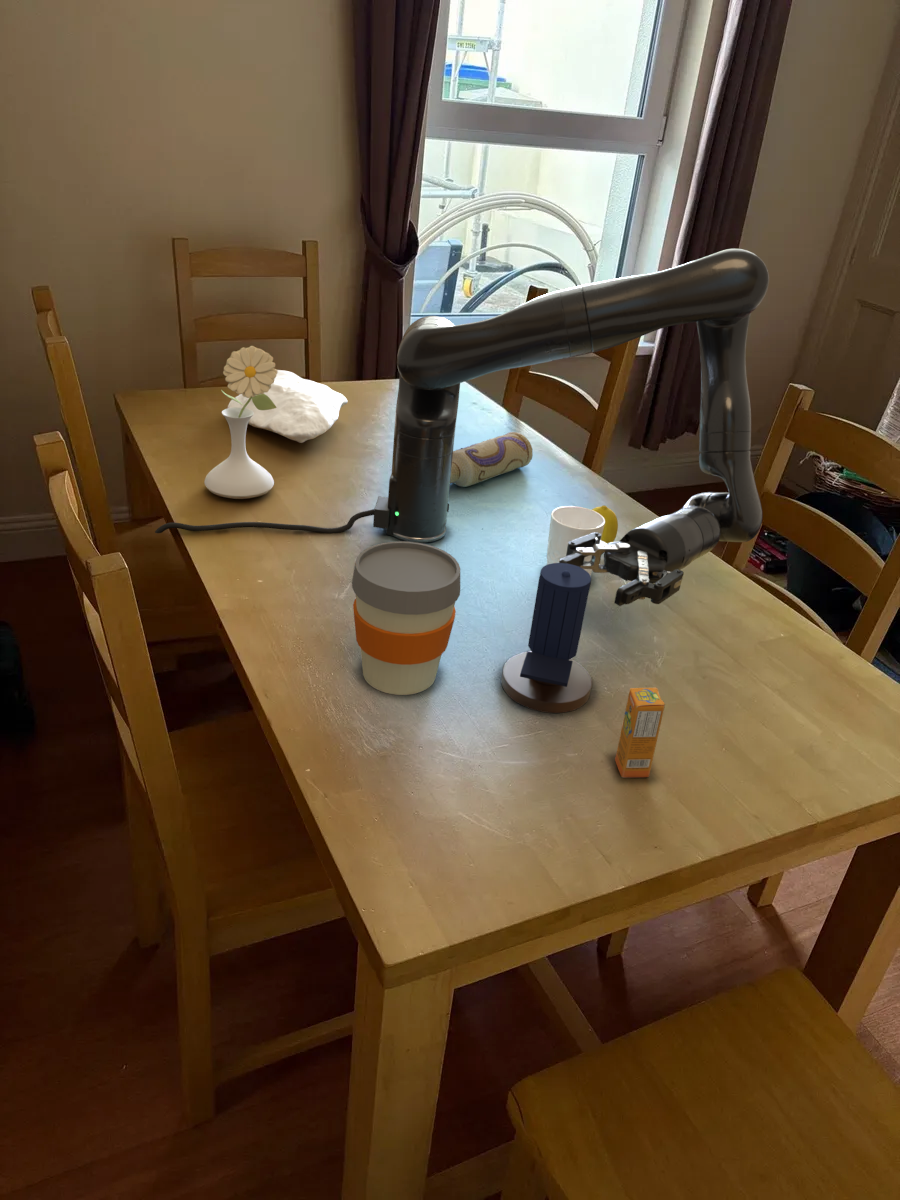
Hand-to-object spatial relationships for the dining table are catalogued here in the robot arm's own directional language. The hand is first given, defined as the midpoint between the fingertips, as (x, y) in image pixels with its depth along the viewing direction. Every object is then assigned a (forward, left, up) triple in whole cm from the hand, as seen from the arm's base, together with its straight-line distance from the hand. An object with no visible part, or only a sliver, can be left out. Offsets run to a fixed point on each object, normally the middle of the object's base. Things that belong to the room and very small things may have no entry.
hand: (588, 583), depth 107 cm
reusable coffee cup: (-21, -5, -13) cm, 26 cm away
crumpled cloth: (-52, +76, -13) cm, 93 cm away
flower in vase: (-53, +42, -13) cm, 69 cm away
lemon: (+6, +35, -13) cm, 38 cm away
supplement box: (+6, -18, -13) cm, 23 cm away
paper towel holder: (-3, -4, -13) cm, 14 cm away
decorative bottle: (-15, +60, -13) cm, 63 cm away
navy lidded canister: (-4, -6, -7) cm, 10 cm away
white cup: (+1, +25, -13) cm, 28 cm away
